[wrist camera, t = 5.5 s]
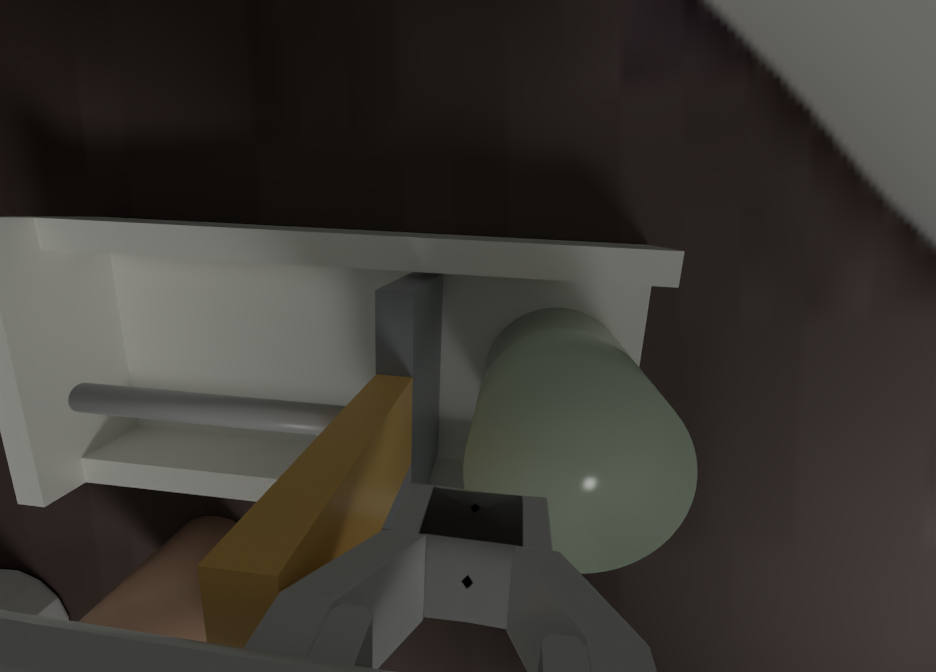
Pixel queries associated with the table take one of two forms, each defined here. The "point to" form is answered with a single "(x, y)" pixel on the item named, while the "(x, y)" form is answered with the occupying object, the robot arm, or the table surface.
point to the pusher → (313, 459)
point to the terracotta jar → (165, 586)
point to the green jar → (581, 439)
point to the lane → (257, 335)
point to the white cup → (28, 596)
